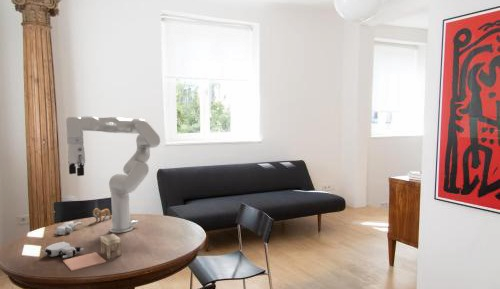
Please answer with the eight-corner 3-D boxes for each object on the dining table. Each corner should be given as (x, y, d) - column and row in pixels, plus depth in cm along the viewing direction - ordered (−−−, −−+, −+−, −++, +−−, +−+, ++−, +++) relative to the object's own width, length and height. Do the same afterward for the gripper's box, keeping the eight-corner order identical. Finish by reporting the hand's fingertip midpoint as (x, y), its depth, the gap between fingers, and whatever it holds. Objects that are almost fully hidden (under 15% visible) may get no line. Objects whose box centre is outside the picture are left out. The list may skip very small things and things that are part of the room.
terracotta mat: (95, 253, 171) (95, 252, 171) (106, 262, 160) (106, 261, 160) (62, 261, 162) (62, 260, 162) (71, 271, 151) (71, 269, 151)
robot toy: (85, 254, 172) (62, 248, 178) (85, 245, 172) (62, 239, 177) (63, 264, 161) (39, 257, 166) (63, 254, 160) (39, 247, 166)
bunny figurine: (49, 228, 198) (68, 217, 212) (51, 237, 199) (69, 226, 213) (65, 229, 196) (83, 218, 210) (66, 238, 197) (84, 226, 211)
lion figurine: (98, 224, 219) (97, 209, 218) (90, 223, 220) (90, 208, 219) (114, 217, 233) (113, 203, 232) (106, 217, 234) (106, 203, 233)
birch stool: (113, 250, 175) (113, 233, 174) (121, 255, 168) (120, 238, 168) (101, 253, 171) (100, 236, 170) (107, 258, 164) (107, 241, 164)
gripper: (90, 141, 182) (91, 175, 183) (75, 140, 194) (76, 172, 195) (74, 142, 177) (76, 177, 178) (60, 140, 188) (62, 173, 189)
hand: (76, 174), depth 186 cm, fingers open, 9 cm apart
